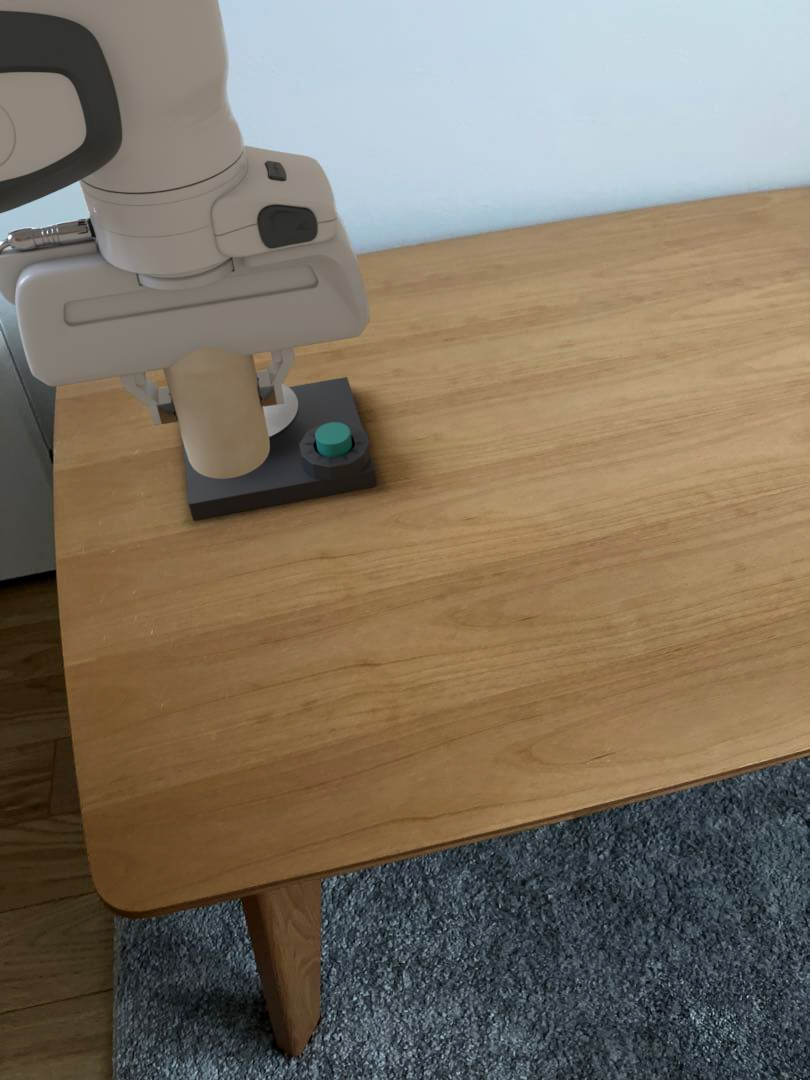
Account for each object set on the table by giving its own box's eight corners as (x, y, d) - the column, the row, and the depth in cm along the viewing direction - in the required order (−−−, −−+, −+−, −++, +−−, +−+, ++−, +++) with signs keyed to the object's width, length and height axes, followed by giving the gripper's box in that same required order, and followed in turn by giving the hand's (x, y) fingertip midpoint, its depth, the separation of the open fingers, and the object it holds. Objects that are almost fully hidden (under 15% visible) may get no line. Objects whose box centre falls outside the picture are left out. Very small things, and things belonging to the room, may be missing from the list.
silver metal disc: (195, 455, 86) (194, 452, 86) (188, 391, 93) (187, 387, 93) (306, 436, 87) (305, 432, 87) (291, 373, 94) (290, 369, 94)
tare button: (320, 461, 85) (318, 446, 84) (314, 439, 88) (312, 425, 86) (354, 454, 86) (353, 440, 85) (348, 433, 88) (347, 419, 87)
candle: (171, 456, 67) (134, 328, 60) (235, 416, 70) (206, 289, 63) (223, 491, 64) (191, 362, 57) (287, 449, 67) (264, 320, 60)
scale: (193, 524, 85) (184, 493, 83) (183, 421, 95) (175, 392, 93) (378, 489, 87) (375, 458, 85) (349, 392, 97) (345, 362, 95)
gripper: (-28, 264, 52) (54, 468, 61) (364, 205, 54) (383, 411, 63) (-17, 208, 56) (58, 407, 66) (345, 156, 58) (365, 355, 68)
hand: (220, 409), depth 65 cm, fingers closed on candle, 5 cm apart
